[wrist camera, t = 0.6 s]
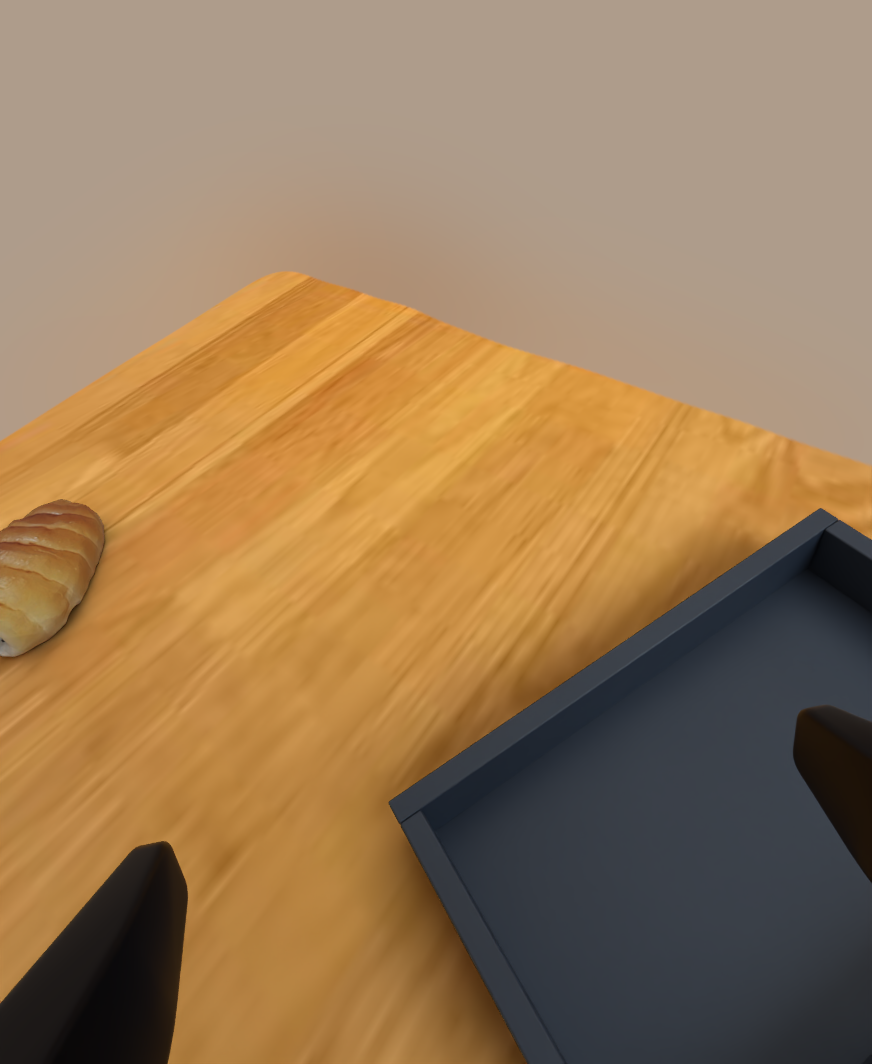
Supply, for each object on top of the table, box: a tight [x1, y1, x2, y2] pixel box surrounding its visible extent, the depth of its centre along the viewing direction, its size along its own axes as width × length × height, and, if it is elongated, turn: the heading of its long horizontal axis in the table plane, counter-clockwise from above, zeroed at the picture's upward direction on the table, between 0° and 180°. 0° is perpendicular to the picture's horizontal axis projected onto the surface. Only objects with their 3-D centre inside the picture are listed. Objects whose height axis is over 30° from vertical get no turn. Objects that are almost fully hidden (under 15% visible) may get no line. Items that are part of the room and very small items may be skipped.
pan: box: [389, 508, 872, 1064], centre depth 20 cm, size 13×20×3 cm, turn 121°
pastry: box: [0, 499, 105, 657], centre depth 33 cm, size 9×7×4 cm
